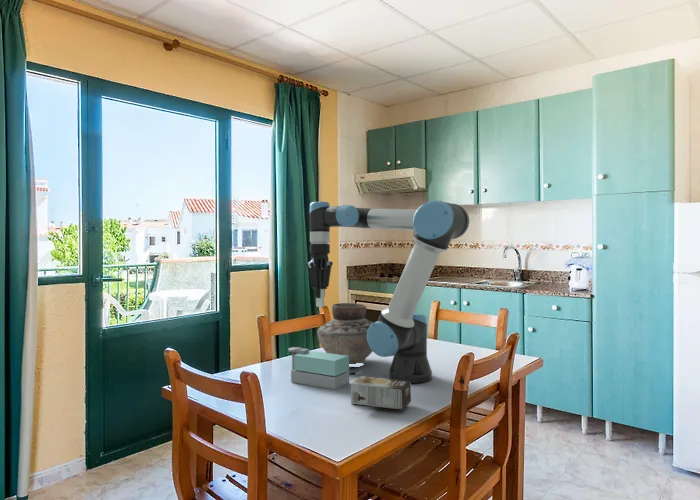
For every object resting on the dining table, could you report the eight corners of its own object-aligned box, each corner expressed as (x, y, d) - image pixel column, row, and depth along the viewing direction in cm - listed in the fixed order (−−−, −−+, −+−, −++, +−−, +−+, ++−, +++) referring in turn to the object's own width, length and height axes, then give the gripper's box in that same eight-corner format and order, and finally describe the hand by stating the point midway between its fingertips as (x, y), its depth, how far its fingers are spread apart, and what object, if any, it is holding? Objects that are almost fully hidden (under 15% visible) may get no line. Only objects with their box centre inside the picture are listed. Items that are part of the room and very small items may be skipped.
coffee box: (360, 375, 149) (411, 379, 143) (360, 395, 149) (411, 401, 143) (350, 383, 140) (403, 388, 135) (350, 404, 140) (404, 410, 135)
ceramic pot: (390, 361, 194) (390, 303, 194) (364, 376, 172) (363, 310, 172) (336, 355, 205) (336, 300, 205) (305, 368, 183) (305, 306, 183)
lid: (348, 370, 163) (348, 352, 163) (335, 376, 155) (334, 357, 155) (297, 362, 174) (297, 345, 174) (282, 367, 167) (282, 350, 167)
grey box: (349, 383, 163) (349, 355, 163) (335, 389, 155) (335, 360, 155) (300, 375, 174) (300, 349, 174) (284, 381, 166) (284, 353, 166)
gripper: (322, 243, 186) (323, 304, 186) (300, 243, 175) (300, 307, 175) (338, 243, 181) (338, 305, 181) (316, 243, 171) (316, 309, 171)
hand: (320, 306), depth 178 cm, fingers closed
